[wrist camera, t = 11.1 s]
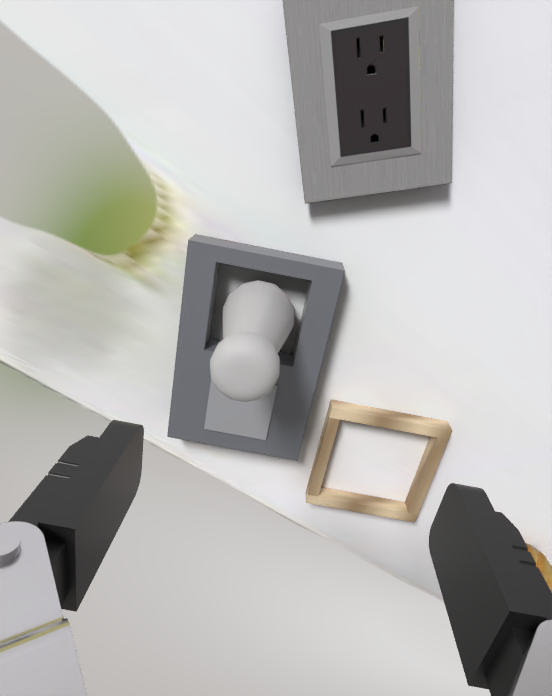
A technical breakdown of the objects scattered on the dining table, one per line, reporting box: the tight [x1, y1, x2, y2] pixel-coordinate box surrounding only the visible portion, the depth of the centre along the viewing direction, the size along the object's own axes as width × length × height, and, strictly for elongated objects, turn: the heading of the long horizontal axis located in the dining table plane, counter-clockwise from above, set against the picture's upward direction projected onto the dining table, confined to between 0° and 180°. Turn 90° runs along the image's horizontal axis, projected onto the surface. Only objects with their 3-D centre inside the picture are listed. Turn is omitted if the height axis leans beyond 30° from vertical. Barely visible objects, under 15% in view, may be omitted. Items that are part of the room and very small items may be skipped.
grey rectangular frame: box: [167, 234, 345, 460], centre depth 39 cm, size 12×18×3 cm, turn 169°
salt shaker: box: [210, 280, 295, 402], centre depth 33 cm, size 6×6×13 cm
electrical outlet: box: [283, 0, 454, 203], centre depth 32 cm, size 13×10×2 cm
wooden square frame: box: [306, 400, 452, 522], centre depth 44 cm, size 11×11×2 cm
